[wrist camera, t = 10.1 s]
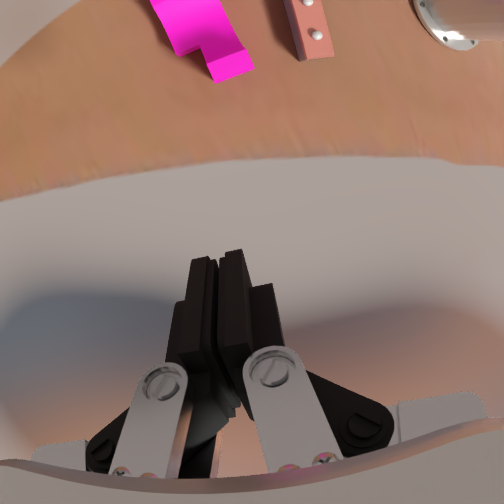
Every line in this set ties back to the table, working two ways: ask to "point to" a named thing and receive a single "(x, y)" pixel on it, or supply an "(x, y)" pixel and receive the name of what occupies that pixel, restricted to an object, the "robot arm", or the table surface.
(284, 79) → the table surface
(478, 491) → the robot arm
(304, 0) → the block
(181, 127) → the table surface
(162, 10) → the magenta curved block
